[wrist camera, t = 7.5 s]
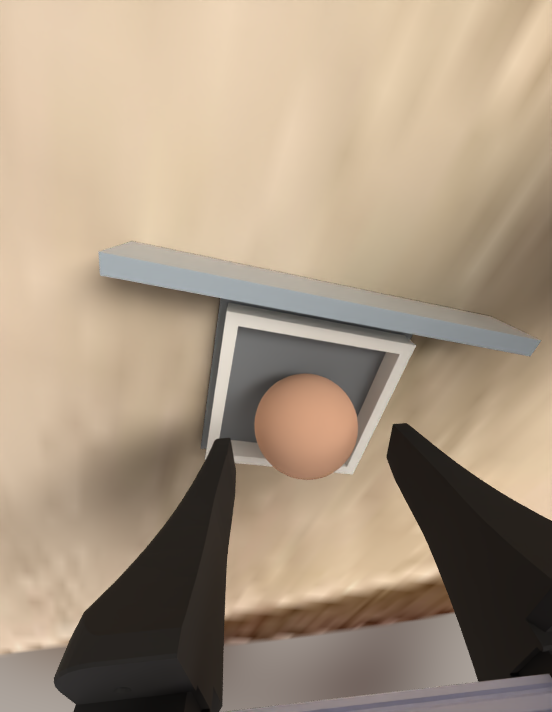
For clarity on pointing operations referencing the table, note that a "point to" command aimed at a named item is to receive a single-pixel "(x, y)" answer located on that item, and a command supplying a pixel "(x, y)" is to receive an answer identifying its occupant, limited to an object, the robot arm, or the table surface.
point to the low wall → (308, 296)
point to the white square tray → (296, 370)
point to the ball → (306, 426)
